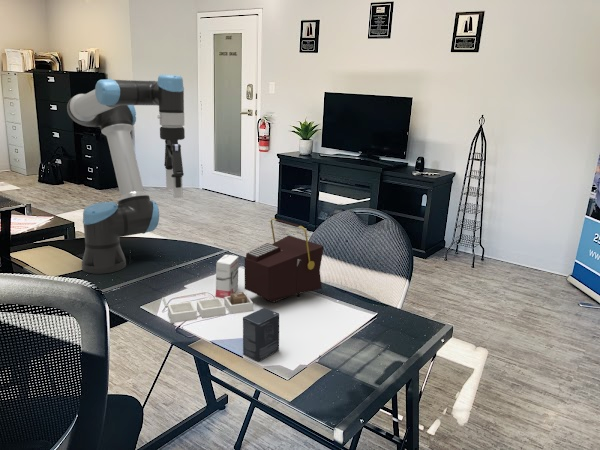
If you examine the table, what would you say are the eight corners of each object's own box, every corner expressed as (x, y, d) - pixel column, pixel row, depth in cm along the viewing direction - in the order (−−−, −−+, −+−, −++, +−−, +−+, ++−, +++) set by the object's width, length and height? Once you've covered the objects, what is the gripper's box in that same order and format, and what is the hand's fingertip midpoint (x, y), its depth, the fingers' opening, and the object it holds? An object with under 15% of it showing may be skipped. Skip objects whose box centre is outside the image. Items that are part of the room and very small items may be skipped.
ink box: (230, 299, 158) (230, 263, 155) (215, 297, 159) (214, 262, 156) (239, 288, 167) (239, 255, 163) (224, 287, 168) (224, 253, 164)
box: (263, 343, 132) (264, 306, 130) (279, 351, 129) (280, 313, 126) (242, 354, 126) (242, 316, 124) (258, 362, 123) (258, 323, 120)
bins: (168, 313, 147) (167, 304, 147) (246, 302, 157) (246, 294, 156) (172, 324, 141) (171, 314, 140) (253, 312, 151) (253, 302, 150)
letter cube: (230, 305, 153) (230, 293, 152) (242, 303, 155) (242, 291, 154) (234, 311, 149) (234, 298, 148) (246, 309, 151) (246, 296, 150)
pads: (162, 298, 158) (162, 297, 158) (235, 288, 167) (235, 288, 167) (165, 307, 152) (165, 306, 152) (241, 296, 161) (241, 295, 161)
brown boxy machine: (324, 294, 165) (328, 221, 158) (274, 316, 148) (276, 235, 142) (289, 281, 176) (291, 212, 169) (238, 299, 159) (238, 223, 153)
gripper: (154, 123, 165) (156, 186, 171) (166, 130, 143) (168, 202, 149) (177, 123, 168) (178, 185, 174) (192, 130, 146) (193, 200, 152)
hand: (174, 193), depth 161 cm, fingers open, 13 cm apart
